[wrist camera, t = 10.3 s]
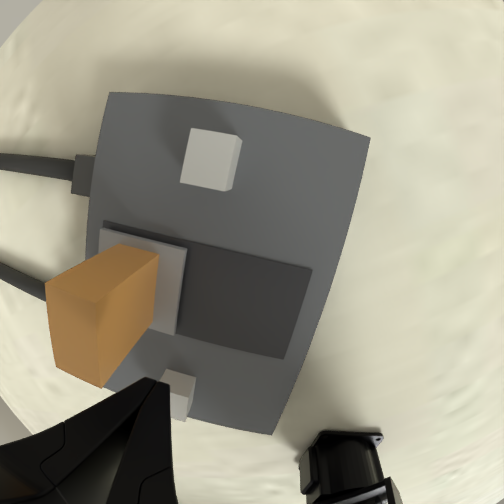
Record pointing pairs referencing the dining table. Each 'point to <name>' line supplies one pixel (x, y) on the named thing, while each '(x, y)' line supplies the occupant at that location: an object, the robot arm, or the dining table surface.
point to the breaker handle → (113, 303)
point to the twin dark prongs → (41, 168)
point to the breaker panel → (226, 241)
